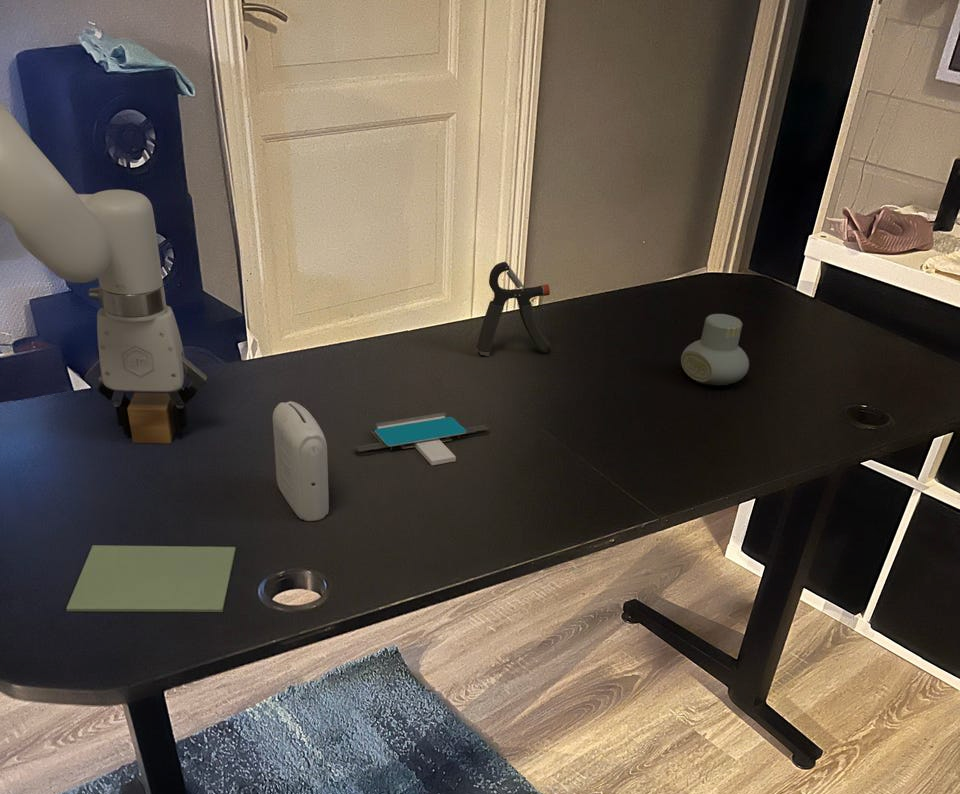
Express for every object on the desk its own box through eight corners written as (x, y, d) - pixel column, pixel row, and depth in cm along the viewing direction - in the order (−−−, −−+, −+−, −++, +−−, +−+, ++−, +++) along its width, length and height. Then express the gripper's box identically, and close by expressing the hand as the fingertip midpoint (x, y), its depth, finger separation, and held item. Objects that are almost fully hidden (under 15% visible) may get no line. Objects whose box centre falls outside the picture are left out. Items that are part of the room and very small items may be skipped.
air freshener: (670, 371, 162) (681, 312, 155) (705, 362, 165) (718, 304, 159) (716, 397, 155) (730, 336, 148) (752, 387, 159) (767, 328, 152)
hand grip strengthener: (551, 355, 163) (562, 265, 154) (479, 357, 161) (485, 265, 151) (547, 350, 165) (557, 260, 156) (476, 352, 162) (482, 260, 153)
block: (132, 443, 131) (126, 408, 127) (140, 426, 134) (134, 392, 131) (171, 443, 131) (166, 409, 128) (177, 427, 135) (172, 393, 132)
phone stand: (375, 476, 128) (375, 465, 127) (343, 436, 136) (342, 426, 135) (508, 451, 136) (509, 441, 135) (470, 415, 144) (471, 405, 143)
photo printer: (333, 518, 119) (330, 426, 111) (300, 525, 117) (295, 432, 110) (305, 479, 126) (300, 390, 118) (273, 485, 124) (266, 395, 117)
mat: (66, 611, 102) (66, 608, 101) (93, 548, 111) (92, 545, 111) (222, 612, 103) (222, 609, 103) (235, 549, 113) (235, 546, 112)
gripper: (54, 307, 117) (82, 442, 129) (200, 312, 119) (215, 445, 130) (69, 286, 123) (95, 416, 134) (208, 291, 125) (222, 419, 136)
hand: (154, 429), depth 132 cm, fingers open, 6 cm apart
